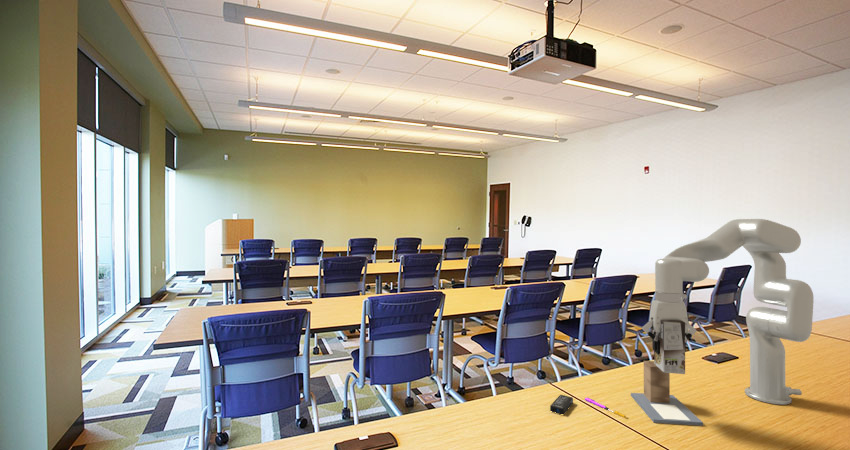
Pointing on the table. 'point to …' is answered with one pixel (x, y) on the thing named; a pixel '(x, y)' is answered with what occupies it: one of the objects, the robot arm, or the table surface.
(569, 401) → the multiport hub
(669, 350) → the coffee box
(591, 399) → the magenta and yellow rod
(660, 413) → the board
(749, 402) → the table surface
